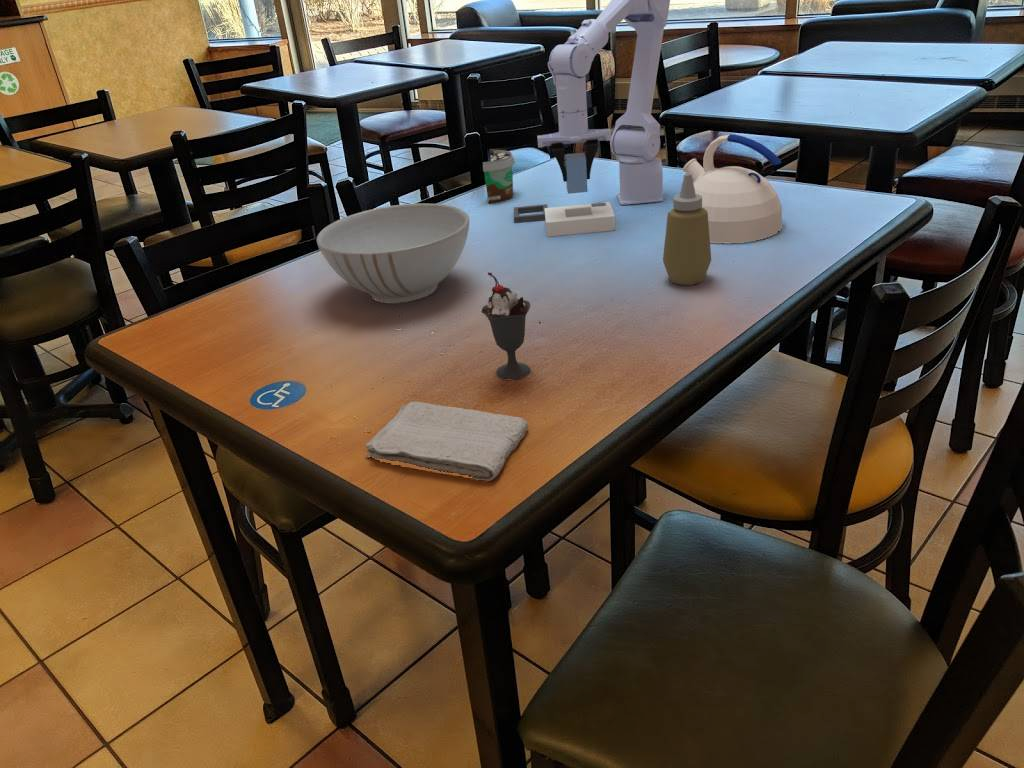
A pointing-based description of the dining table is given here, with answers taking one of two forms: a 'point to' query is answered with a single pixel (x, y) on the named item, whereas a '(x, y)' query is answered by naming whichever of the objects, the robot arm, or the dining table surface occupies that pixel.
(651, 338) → the dining table surface
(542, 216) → the dark square tray
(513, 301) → the sundae
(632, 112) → the robot arm
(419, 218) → the decorative bowl
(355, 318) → the dining table surface
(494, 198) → the food container
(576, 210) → the panel
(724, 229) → the kettle
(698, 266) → the squeeze bottle
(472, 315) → the dining table surface
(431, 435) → the washcloth
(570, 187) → the plug
